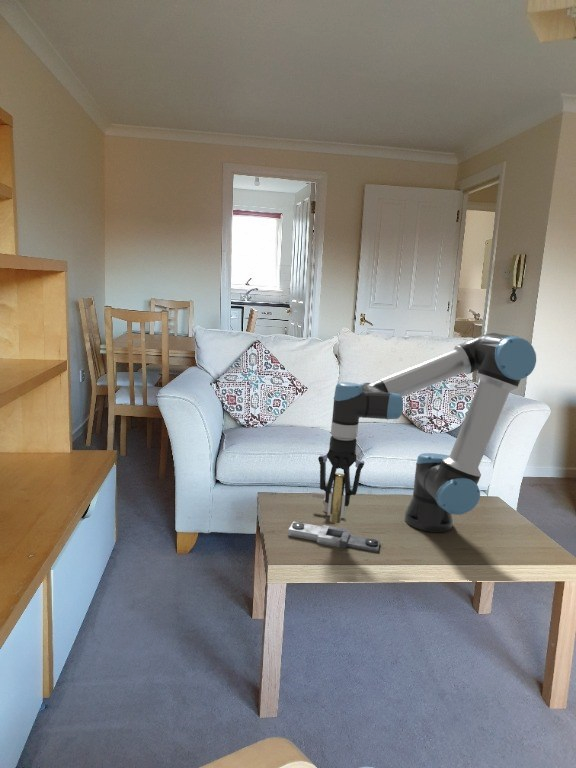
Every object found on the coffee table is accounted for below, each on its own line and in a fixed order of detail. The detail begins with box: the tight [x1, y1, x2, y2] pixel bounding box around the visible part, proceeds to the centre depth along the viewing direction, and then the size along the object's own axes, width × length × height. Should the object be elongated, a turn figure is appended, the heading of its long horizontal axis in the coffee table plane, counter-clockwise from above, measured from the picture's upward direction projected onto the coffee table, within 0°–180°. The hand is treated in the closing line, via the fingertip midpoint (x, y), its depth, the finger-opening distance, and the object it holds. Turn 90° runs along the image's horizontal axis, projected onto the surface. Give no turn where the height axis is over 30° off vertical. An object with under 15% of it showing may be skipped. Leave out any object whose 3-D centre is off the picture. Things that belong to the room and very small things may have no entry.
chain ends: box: [287, 521, 381, 553], centre depth 155 cm, size 26×8×3 cm, turn 75°
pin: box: [329, 472, 345, 524], centre depth 154 cm, size 3×3×14 cm
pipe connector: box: [311, 481, 328, 513], centre depth 175 cm, size 10×10×10 cm
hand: (335, 514), depth 154 cm, fingers closed on pin, 3 cm apart
